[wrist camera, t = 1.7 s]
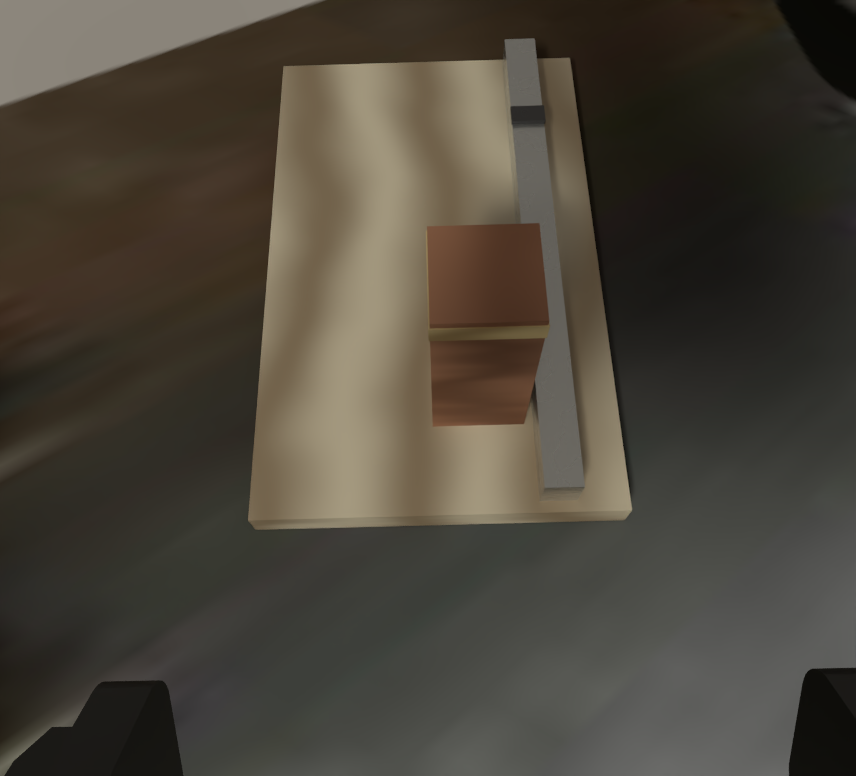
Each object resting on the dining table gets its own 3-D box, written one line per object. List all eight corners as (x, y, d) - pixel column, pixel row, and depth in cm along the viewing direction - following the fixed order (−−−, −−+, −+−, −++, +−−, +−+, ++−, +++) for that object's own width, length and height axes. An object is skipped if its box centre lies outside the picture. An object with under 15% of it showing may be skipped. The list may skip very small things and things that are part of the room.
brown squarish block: (431, 427, 34) (428, 325, 26) (429, 345, 36) (425, 225, 28) (525, 425, 34) (551, 322, 26) (518, 342, 36) (540, 221, 28)
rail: (538, 501, 33) (544, 485, 31) (501, 66, 43) (504, 35, 41) (579, 500, 33) (587, 484, 31) (532, 65, 43) (536, 34, 41)
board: (255, 529, 34) (248, 520, 32) (288, 87, 45) (283, 66, 43) (624, 519, 34) (632, 510, 32) (565, 78, 45) (569, 57, 43)
